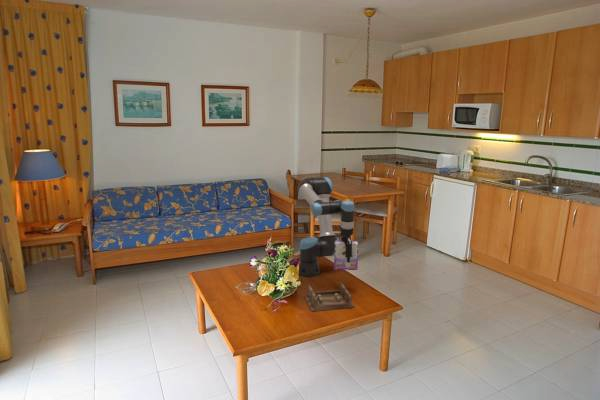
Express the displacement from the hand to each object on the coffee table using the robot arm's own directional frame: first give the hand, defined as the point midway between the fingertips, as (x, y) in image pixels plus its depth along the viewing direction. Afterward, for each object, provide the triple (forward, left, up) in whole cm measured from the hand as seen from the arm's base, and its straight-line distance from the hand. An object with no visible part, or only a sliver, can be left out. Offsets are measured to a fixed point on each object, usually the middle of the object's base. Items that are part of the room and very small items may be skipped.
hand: (345, 264), depth 238 cm
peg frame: (+14, -14, -16) cm, 26 cm away
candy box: (0, 0, -3) cm, 3 cm away
